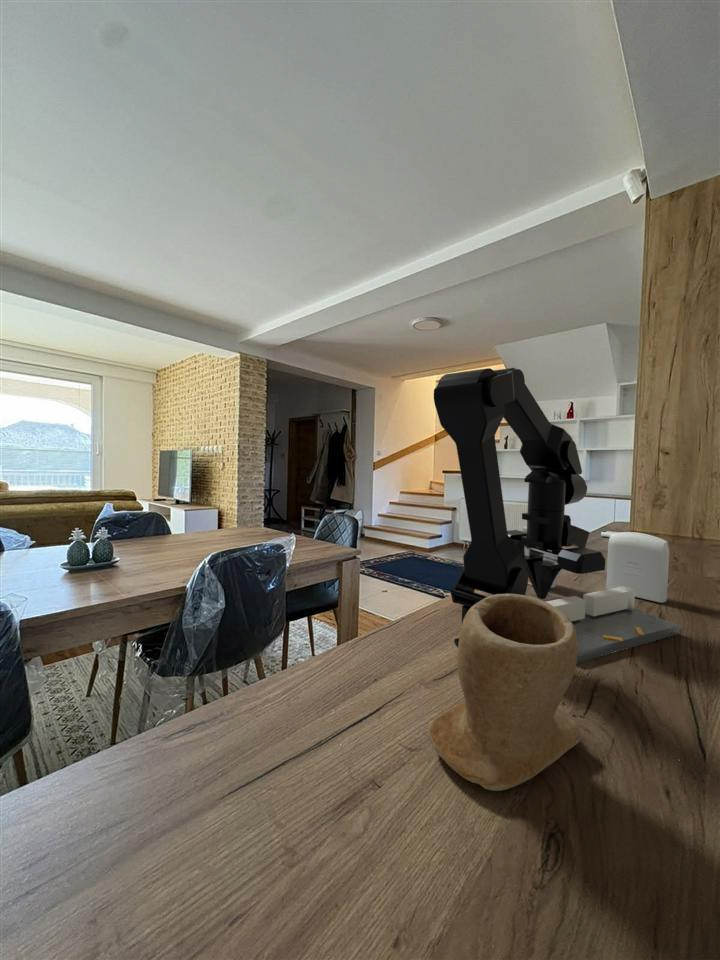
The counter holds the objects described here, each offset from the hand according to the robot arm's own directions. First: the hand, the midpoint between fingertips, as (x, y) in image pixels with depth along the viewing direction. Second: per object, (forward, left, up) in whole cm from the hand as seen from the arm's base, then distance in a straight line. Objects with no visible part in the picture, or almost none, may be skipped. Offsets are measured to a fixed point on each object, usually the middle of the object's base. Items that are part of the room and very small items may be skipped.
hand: (541, 598), depth 72 cm
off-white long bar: (+9, -6, -1) cm, 11 cm away
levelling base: (+3, -7, -3) cm, 8 cm away
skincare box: (+12, +12, -3) cm, 17 cm away
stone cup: (-28, -23, -3) cm, 36 cm away
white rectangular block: (-3, -6, -1) cm, 7 cm away
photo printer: (+25, 0, -3) cm, 25 cm away
